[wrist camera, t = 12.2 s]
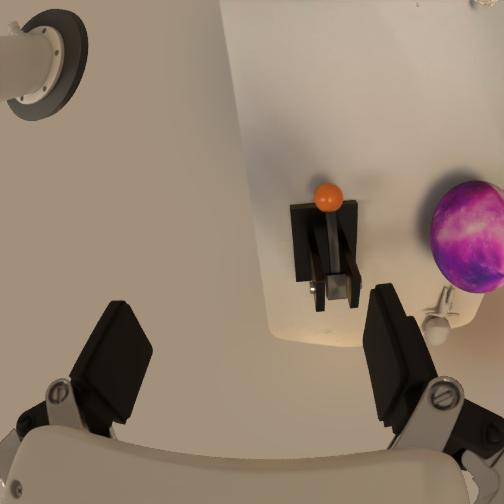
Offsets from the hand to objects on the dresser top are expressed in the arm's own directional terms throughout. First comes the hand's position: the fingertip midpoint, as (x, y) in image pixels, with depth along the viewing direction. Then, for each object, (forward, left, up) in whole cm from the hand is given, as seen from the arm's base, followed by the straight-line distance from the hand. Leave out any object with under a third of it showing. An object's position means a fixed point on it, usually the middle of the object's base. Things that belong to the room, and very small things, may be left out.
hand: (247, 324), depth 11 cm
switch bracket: (+15, +1, -28) cm, 32 cm away
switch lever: (+12, +2, -22) cm, 25 cm away
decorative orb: (+20, +22, -28) cm, 41 cm away
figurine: (+35, +19, -28) cm, 49 cm away
